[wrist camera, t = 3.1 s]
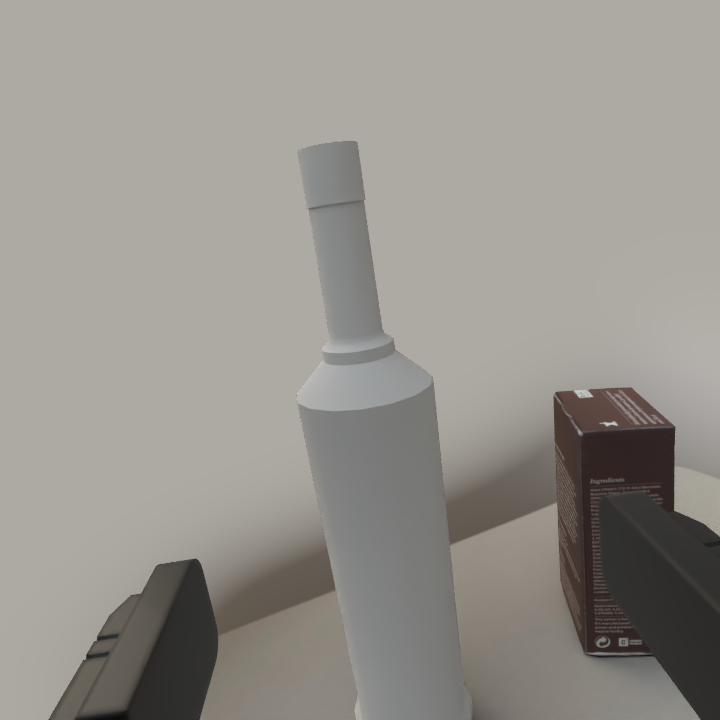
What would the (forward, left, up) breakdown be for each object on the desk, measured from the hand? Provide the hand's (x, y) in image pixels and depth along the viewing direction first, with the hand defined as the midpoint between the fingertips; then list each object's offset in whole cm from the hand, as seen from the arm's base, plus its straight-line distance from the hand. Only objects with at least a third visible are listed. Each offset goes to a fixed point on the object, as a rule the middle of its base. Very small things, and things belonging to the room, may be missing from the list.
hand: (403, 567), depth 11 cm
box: (+8, +17, -16) cm, 25 cm away
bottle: (-2, +10, -16) cm, 19 cm away
